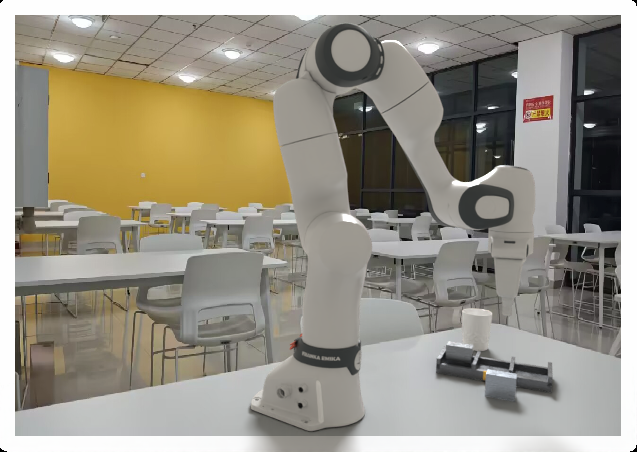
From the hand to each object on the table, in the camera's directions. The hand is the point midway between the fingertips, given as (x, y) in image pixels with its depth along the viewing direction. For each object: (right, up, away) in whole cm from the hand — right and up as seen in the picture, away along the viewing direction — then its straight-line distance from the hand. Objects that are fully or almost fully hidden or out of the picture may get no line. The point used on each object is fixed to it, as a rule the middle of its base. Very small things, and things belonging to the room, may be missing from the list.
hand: (507, 309), depth 107 cm
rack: (+2, -18, +13) cm, 22 cm away
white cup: (+3, -16, +33) cm, 37 cm away
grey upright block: (-1, -19, +1) cm, 19 cm away
